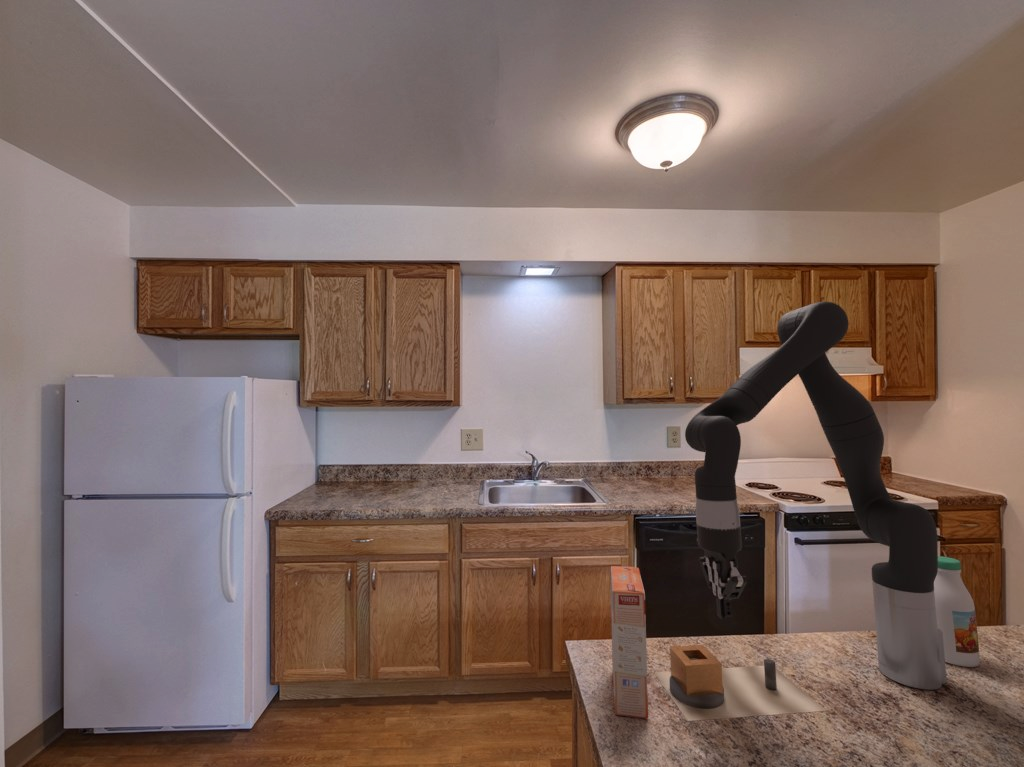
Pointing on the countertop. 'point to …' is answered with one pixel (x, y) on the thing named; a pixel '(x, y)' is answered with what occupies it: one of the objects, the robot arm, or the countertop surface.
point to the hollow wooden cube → (696, 670)
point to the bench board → (743, 695)
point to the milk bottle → (955, 615)
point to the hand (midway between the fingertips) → (724, 617)
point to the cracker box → (629, 642)
